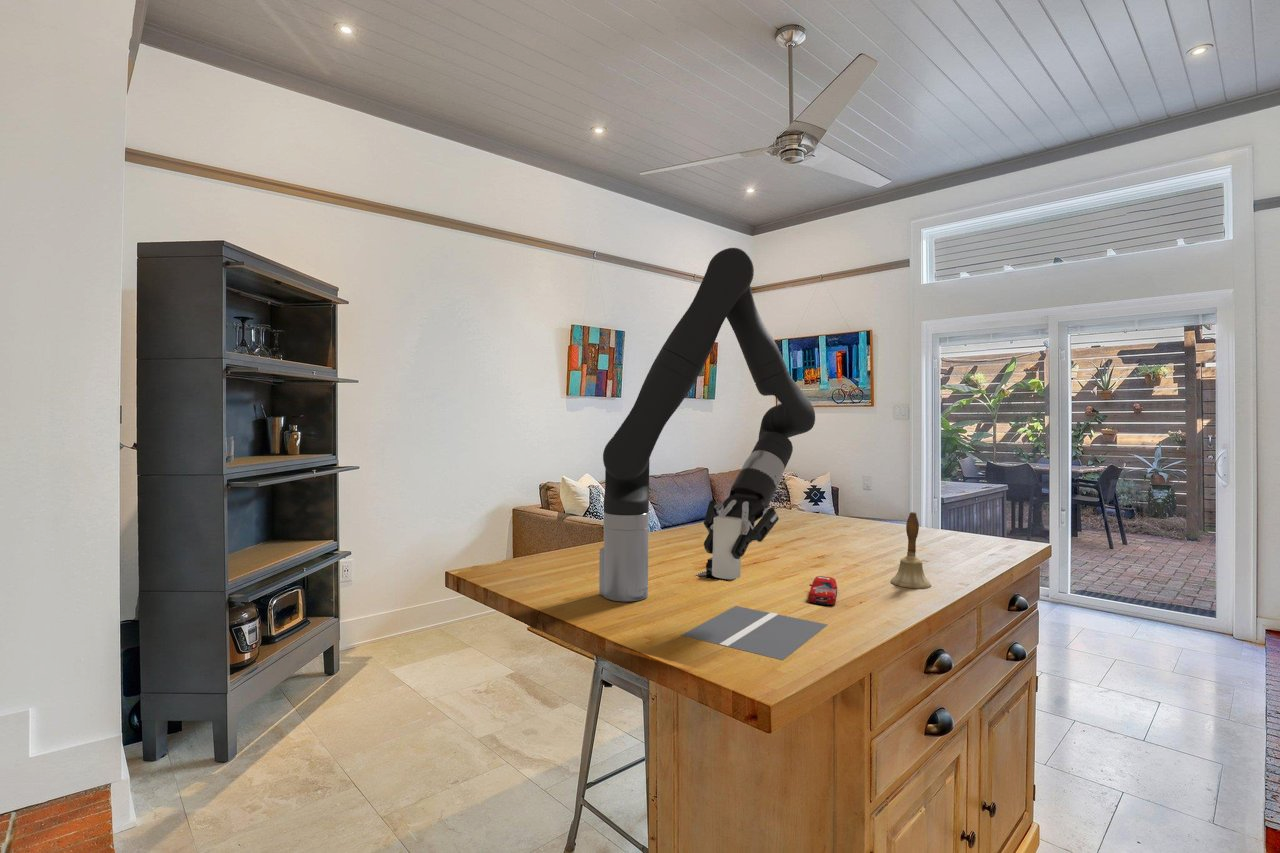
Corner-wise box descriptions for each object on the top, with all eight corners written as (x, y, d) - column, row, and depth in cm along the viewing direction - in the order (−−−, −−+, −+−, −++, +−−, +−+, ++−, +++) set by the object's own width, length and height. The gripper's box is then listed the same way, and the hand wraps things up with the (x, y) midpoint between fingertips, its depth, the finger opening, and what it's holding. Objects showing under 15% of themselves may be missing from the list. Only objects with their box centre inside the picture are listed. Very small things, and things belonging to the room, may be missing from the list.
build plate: (747, 579, 144) (748, 559, 144) (736, 586, 138) (736, 565, 138) (698, 572, 151) (699, 553, 151) (685, 578, 144) (685, 559, 144)
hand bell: (917, 578, 144) (918, 509, 144) (939, 588, 136) (940, 515, 135) (883, 579, 143) (884, 510, 142) (903, 589, 134) (904, 515, 134)
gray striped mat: (680, 637, 104) (680, 634, 104) (735, 608, 120) (735, 605, 120) (783, 663, 93) (783, 659, 93) (828, 627, 110) (828, 624, 110)
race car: (835, 609, 121) (835, 589, 121) (806, 606, 123) (806, 586, 123) (839, 591, 133) (839, 573, 133) (813, 589, 135) (813, 570, 135)
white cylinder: (706, 575, 109) (708, 518, 109) (720, 570, 113) (721, 515, 113) (732, 580, 106) (734, 522, 106) (745, 574, 110) (747, 518, 110)
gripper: (718, 464, 120) (679, 534, 111) (786, 469, 111) (749, 547, 102) (732, 489, 124) (695, 559, 115) (799, 497, 115) (764, 573, 106)
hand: (721, 553), depth 108 cm, fingers closed on white cylinder, 5 cm apart
